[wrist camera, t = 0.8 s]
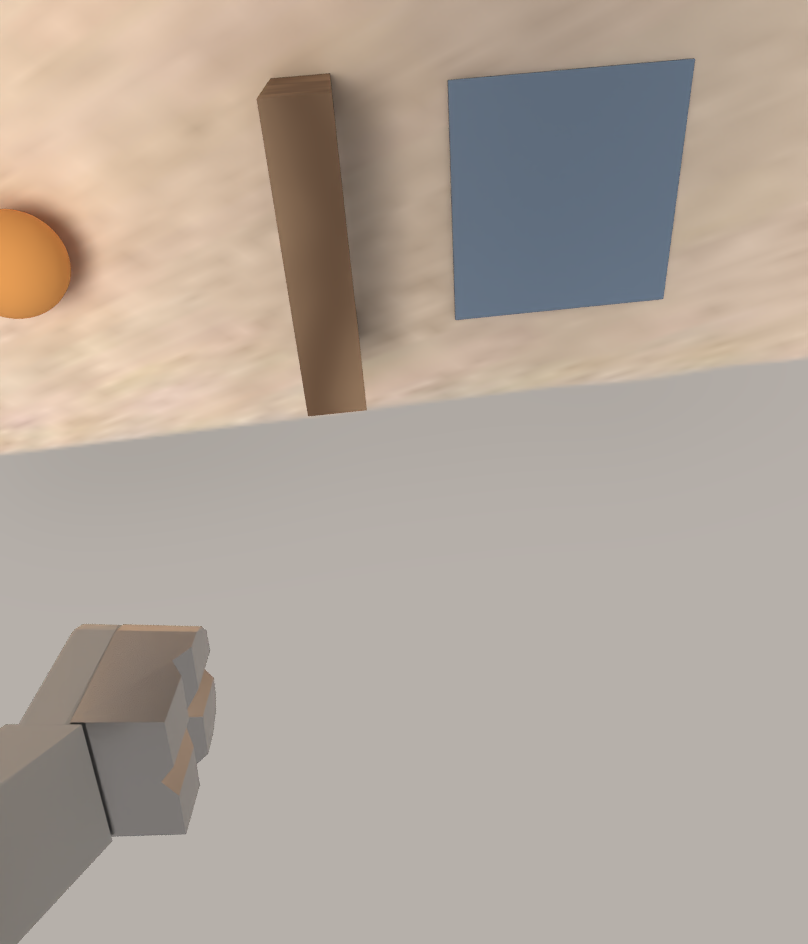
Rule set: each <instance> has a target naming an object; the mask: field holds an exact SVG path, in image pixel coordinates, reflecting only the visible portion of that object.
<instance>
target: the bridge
mask: <svg viewBox="0 0 808 944" xmlns="http://www.w3.org/2000/svg"><path fill="white" fill-rule="evenodd" d="M257 103H258V110H259V116H260V122H261V128H262V134H263V140H264V147H265V153H266V159H267V165H268V171H269V178H270V184H271V190H272V196H273V202H274V208H275V215H276V221H277V227H278V233H279V239H280V245H281V252H282V258H283V264H284V270H285V276H286V283H287V289H288V295H289V301H290V307H291V313H292V320H293V326H294V332H295V338H296V344H297V351H298V357H299V363H300V369H301V375H302V381H303V388H304V394H305V400H306V406H307V412H308V416H316V415H325V414H334V413H344V412H353V411H363V410H367V408H366V399H365V389H364V380H363V371H362V361H361V352H360V343H359V334H358V324H357V315H356V308H355V299H354V290H353V281H352V272H351V263H350V254H349V245H348V236H347V227H346V218H345V209H344V199H343V190H342V181H341V172H340V163H339V154H338V145H337V136H336V126H335V116H334V107H333V98H332V88H331V79H330V73H329V74H317V75H306V76H294V77H282V78H271V79H270V80H269V82H268V83H267V85H266V86H265V87H264V89H263V90H262V92H261V93H260V95H259V96H258V98H257Z"/></svg>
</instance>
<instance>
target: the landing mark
mask: <svg viewBox="0 0 808 944" xmlns="http://www.w3.org/2000/svg"><path fill="white" fill-rule="evenodd" d="M694 63H695V59H682V60H671V61H659V62H648V63H636V64H625V65H614V66H602V67H591V68H579V69H568V70H556V71H545V72H534V73H522V74H511V75H499V76H488V77H476V78H465V79H454V80H448V106H449V138H450V170H451V201H452V233H453V265H454V297H455V320H461V319H471V318H481V317H491V316H500V315H510V314H520V313H530V312H540V311H550V310H560V309H570V308H580V307H589V306H599V305H609V304H619V303H629V302H639V301H649V300H659V299H663V296H664V289H665V281H666V274H667V266H668V259H669V251H670V244H671V236H672V229H673V221H674V214H675V206H676V199H677V191H678V183H679V176H680V168H681V161H682V153H683V146H684V138H685V131H686V123H687V116H688V108H689V101H690V93H691V86H692V78H693V71H694Z"/></svg>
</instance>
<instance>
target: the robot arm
mask: <svg viewBox="0 0 808 944" xmlns="http://www.w3.org/2000/svg"><path fill="white" fill-rule="evenodd" d="M209 653H210V648H209V643H208V637H207V631H206V630H205V629H204V628H203V627H202V626H166V625H131V624H130V625H129V624H123V625H105V624H104V625H103V624H82V625H81V626H79V627H78V628H76V629H75V630H74V631H73V632H72V633H71V635H70V637H69V639H68V640H67V642H66V644H65V645H64V647H63V649H62V651H61V652H60V654H59V656H58V657H57V659H56V661H55V663H54V664H53V666H52V668H51V670H50V671H49V673H48V675H47V676H46V678H45V680H44V681H43V683H42V685H41V687H40V688H39V690H38V692H37V693H36V695H35V697H34V699H33V700H32V702H31V704H30V706H29V707H28V709H27V711H26V712H25V714H24V716H23V717H22V719H21V721H20V723H19V724H9V725H8V724H6V725H4V726H3V727H1V728H0V944H17V943H18V942H19V941H20V940H21V939H22V938H23V937H24V935H25V934H27V932H28V931H29V930H30V929H31V928H32V927H33V926H34V925H35V924H36V923H37V922H38V921H39V919H40V918H41V917H42V916H43V915H44V914H45V913H46V912H47V911H48V910H49V909H50V908H51V906H52V905H53V904H54V903H55V902H56V901H57V900H58V899H59V898H60V897H61V896H62V895H63V893H64V892H65V891H66V890H67V889H68V888H69V887H70V886H71V885H72V884H73V883H74V882H75V881H76V879H78V877H79V876H80V875H81V874H82V873H83V872H84V871H85V870H86V869H87V868H88V867H89V866H90V865H91V863H92V862H93V861H94V860H95V859H96V858H97V857H98V856H99V855H100V854H101V853H102V851H103V850H104V849H105V848H106V847H107V846H108V845H109V844H110V843H111V842H112V838H111V837H112V836H140V835H141V836H144V835H175V834H186V833H187V829H188V825H189V822H190V818H191V815H192V811H193V807H194V804H195V800H196V796H197V793H198V789H199V786H200V783H199V777H198V770H197V763H198V762H199V761H201V760H202V759H203V758H204V757H205V756H206V755H207V754H208V752H209V748H210V744H211V740H212V736H213V730H214V721H215V714H216V692H215V684H214V678H213V677H212V676H211V675H210V674H209V673H208V672H207V671H206V670H205V666H206V663H207V659H208V656H209Z"/></svg>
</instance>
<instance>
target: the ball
mask: <svg viewBox="0 0 808 944" xmlns="http://www.w3.org/2000/svg"><path fill="white" fill-rule="evenodd" d="M70 277H71V266H70V260H69V256H68V253H67V250H66V248H65V246H64V244H63V242H62V241H61V239H60V238H59V236H58V235H57V234H56V233H55V232H54V231H53V230H52V229H51V228H50V227H49V226H48V225H47V224H45V223H44V222H43V221H41V220H40V219H38V218H36V217H34V216H32V215H30V214H27V213H25V212H21V211H17V210H12V209H0V316H2V317H6V318H13V319H24V318H31V317H35V316H38V315H41V314H43V313H45V312H47V311H49V310H50V309H52V308H53V307H54V306H55V305H56V304H58V303H59V301H60V300H61V299H62V298H63V296H64V294H65V293H66V291H67V288H68V286H69V282H70Z"/></svg>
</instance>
